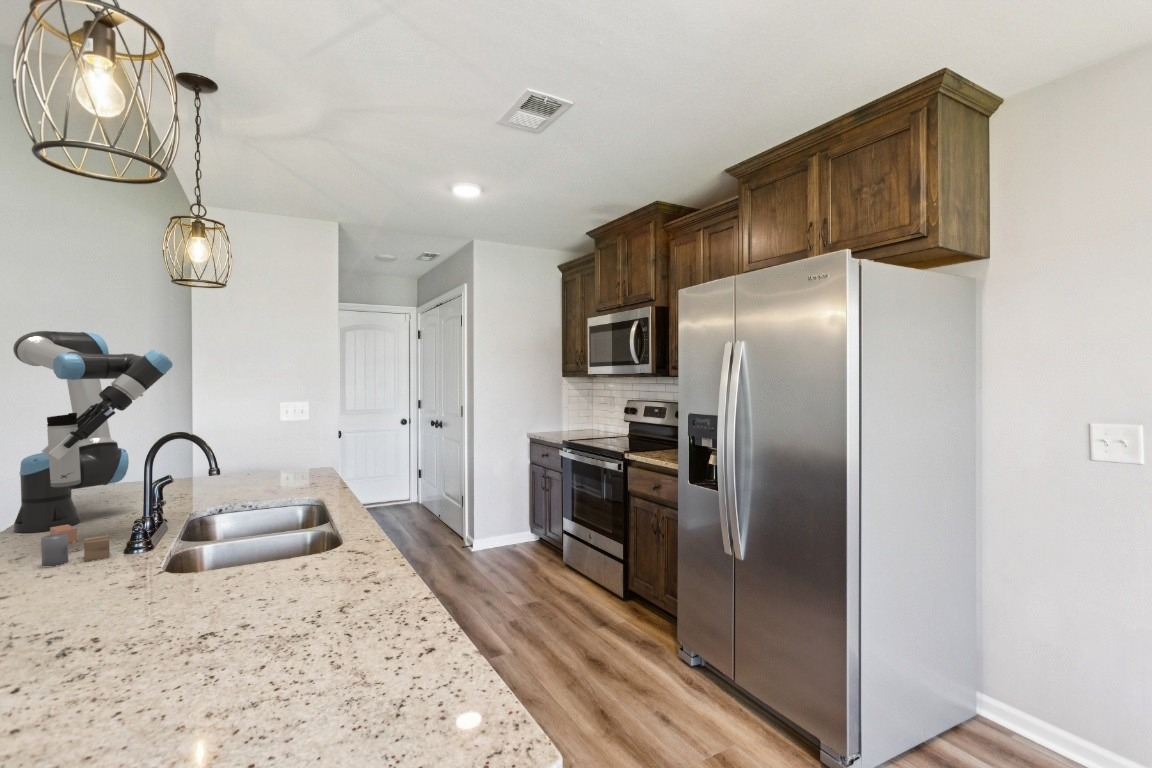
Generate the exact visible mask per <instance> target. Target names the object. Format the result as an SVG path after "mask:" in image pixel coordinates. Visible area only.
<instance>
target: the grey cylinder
mask: <svg viewBox="0 0 1152 768" xmlns="http://www.w3.org/2000/svg"><path fill="white" fill-rule="evenodd" d="M40 541H41V542H40V545H41V549H40V550H41V567H42V566H53V567H57V566H56V565H59V566H62V565H61V564H63V565H65V564H64V563H66V564H67V562H68V563H69V543H68V534H55V535H50V534H49V535H45V536H42V537H41V538H40Z"/></svg>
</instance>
